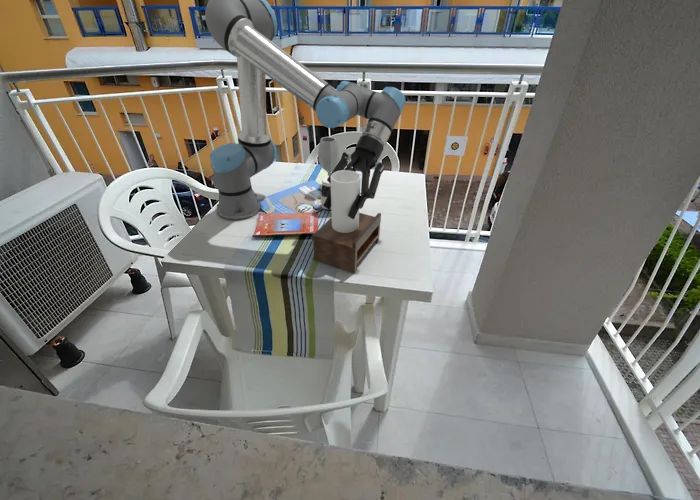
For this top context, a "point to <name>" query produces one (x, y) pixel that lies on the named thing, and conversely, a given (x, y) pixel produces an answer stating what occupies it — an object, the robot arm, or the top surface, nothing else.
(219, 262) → the top surface
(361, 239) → the small wooden box
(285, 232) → the top surface
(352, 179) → the cup
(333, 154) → the wineglass
